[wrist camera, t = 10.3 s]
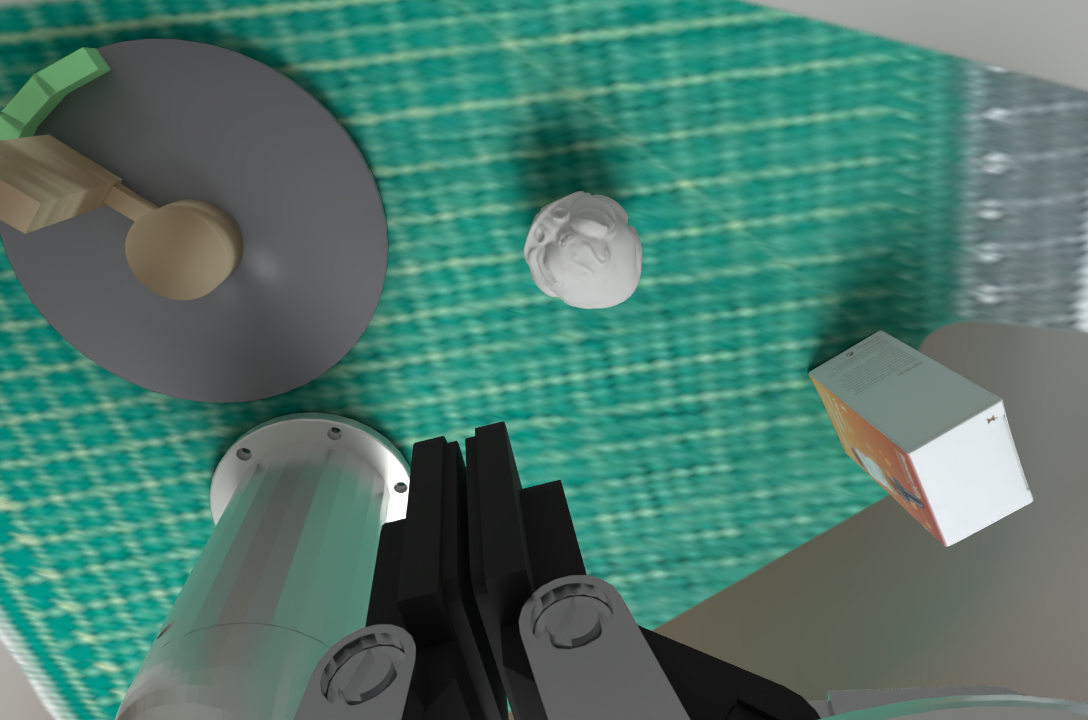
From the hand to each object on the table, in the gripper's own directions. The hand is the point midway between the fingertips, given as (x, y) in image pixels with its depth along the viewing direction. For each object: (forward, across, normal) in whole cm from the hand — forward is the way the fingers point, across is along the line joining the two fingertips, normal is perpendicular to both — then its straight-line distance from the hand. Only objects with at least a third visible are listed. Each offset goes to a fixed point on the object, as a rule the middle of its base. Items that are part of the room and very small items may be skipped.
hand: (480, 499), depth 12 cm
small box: (+27, -24, +18) cm, 40 cm away
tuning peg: (+25, +15, -4) cm, 30 cm away
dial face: (+27, +13, -2) cm, 30 cm away
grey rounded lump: (+27, -6, +2) cm, 28 cm away
